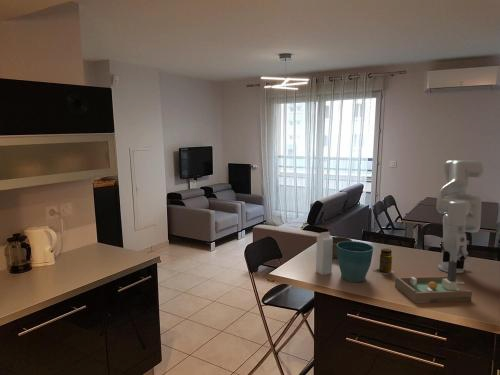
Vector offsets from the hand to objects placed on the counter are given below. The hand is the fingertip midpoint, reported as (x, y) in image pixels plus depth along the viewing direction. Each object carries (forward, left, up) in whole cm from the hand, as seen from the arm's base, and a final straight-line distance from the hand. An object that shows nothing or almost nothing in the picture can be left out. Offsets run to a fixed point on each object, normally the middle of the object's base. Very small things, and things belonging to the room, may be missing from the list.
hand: (452, 265), depth 166 cm
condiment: (+18, -30, -14) cm, 37 cm away
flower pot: (+38, -22, -14) cm, 46 cm away
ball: (+9, -1, -10) cm, 13 cm away
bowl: (+34, -58, -14) cm, 68 cm away
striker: (-2, -1, -11) cm, 11 cm away
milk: (+51, -31, -14) cm, 61 cm away
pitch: (+9, -1, -14) cm, 16 cm away
